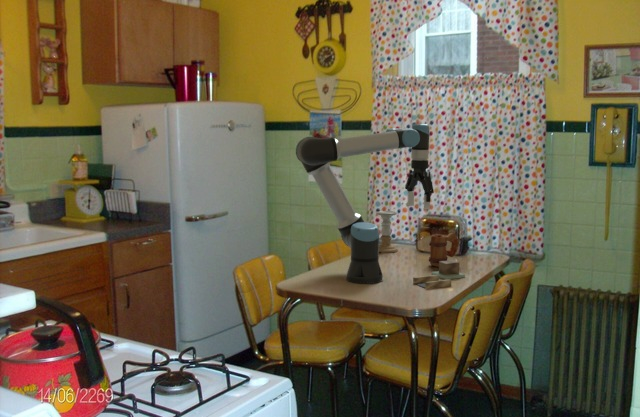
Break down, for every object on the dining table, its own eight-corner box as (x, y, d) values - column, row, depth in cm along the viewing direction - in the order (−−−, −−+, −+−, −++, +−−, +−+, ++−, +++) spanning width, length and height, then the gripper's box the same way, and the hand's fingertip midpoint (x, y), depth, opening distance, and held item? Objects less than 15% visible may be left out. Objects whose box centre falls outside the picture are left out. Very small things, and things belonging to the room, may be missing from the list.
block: (445, 275, 275) (445, 263, 275) (438, 272, 280) (439, 261, 279) (459, 273, 278) (459, 262, 278) (452, 271, 283) (452, 260, 282)
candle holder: (385, 247, 344) (386, 210, 341) (402, 251, 334) (403, 212, 332) (369, 250, 336) (369, 212, 333) (386, 254, 326) (386, 214, 324)
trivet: (445, 279, 273) (445, 276, 273) (431, 274, 282) (431, 271, 282) (464, 277, 277) (464, 274, 277) (450, 272, 286) (450, 269, 286)
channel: (426, 288, 257) (426, 282, 257) (413, 283, 266) (413, 277, 266) (451, 285, 262) (451, 279, 262) (437, 280, 271) (437, 274, 271)
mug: (432, 268, 294) (433, 235, 292) (424, 264, 302) (425, 232, 300) (461, 266, 298) (462, 234, 296) (453, 263, 305) (454, 231, 304)
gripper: (442, 160, 275) (441, 210, 277) (412, 158, 297) (411, 203, 300) (427, 161, 272) (426, 211, 274) (398, 158, 295) (397, 204, 297)
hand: (418, 207), depth 287 cm, fingers open, 13 cm apart
